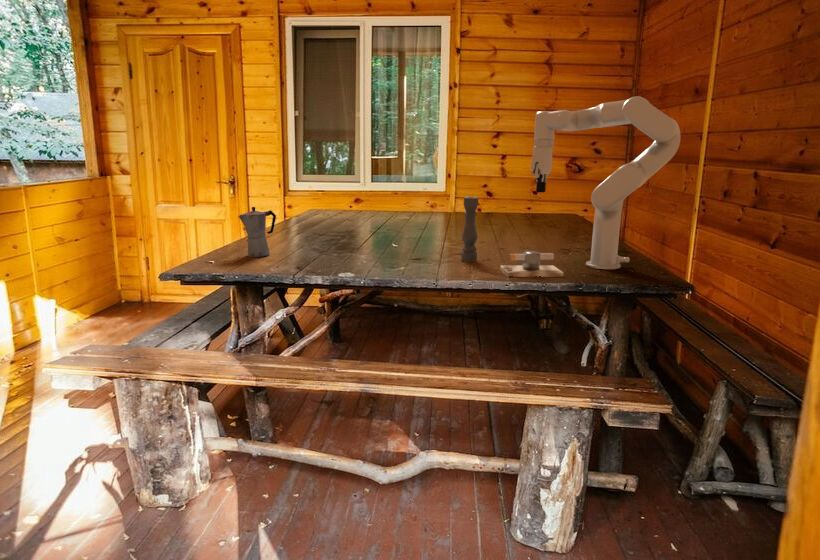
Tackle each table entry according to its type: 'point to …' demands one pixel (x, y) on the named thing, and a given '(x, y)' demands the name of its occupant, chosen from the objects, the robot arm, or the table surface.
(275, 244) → the table surface
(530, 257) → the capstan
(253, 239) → the moka pot
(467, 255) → the candle holder
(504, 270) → the stand
